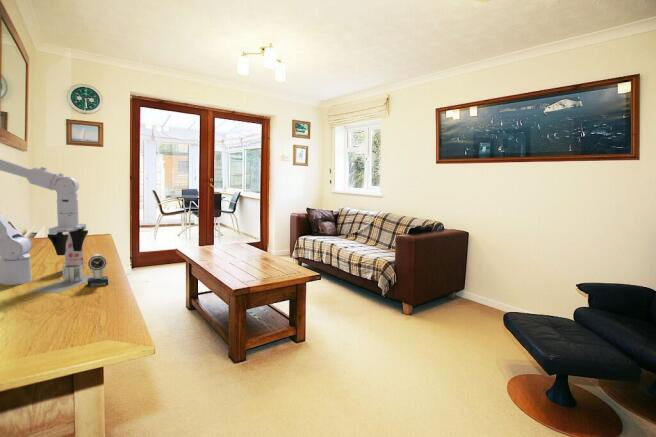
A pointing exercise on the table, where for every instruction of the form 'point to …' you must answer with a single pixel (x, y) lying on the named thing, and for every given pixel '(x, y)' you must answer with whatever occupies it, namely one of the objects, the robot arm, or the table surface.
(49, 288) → the board
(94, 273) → the watch
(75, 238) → the robot arm
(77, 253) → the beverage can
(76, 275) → the gray hollow cylinder
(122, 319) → the table surface
